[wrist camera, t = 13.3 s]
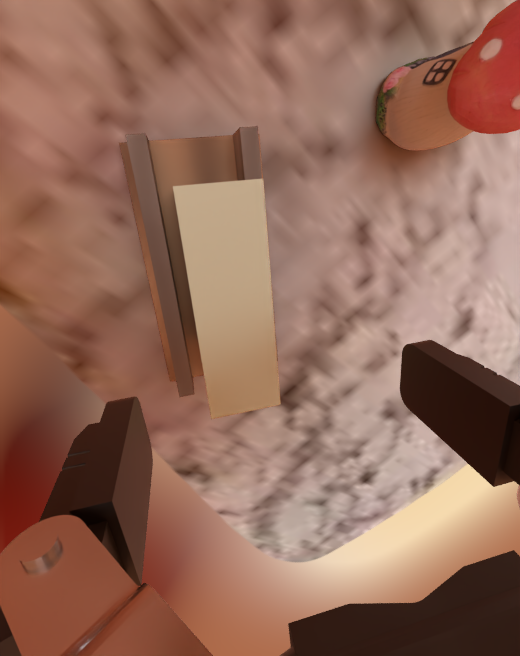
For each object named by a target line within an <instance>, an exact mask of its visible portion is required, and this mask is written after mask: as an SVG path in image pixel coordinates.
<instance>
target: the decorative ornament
mask: <svg viewBox="0 0 520 656" xmlns="http://www.w3.org/2000/svg"><path fill="white" fill-rule="evenodd" d="M376 123H377V125H378V127H379V129H380V130H381V132H382V134H383V135H385V136H386V137H387V138H389V139H390V140H391V141H392V142H393V143H395V144H396V145H397V146H399V147H401V148H403V149H406V150H428V149H433V148H437V147H441V146H444V145H447V144H450V143H452V142H455V141H457V140H459V139H461V138H463V137H464V136H466V135H468V134H469V133H471V132H473V131H475V132H479V133H487V134H497V133H508V132H512V131H516V130H519V129H520V0H516V1H515V2H513V3H512V4H510V5H509V6H508V7H506V8H505V9H504V10H502V11H501V12H500V13H498V14H497V15H496V16H495V17H494V18H493V19H492V20H491V21H490V22H489V23H488V24H487V26H486V27H485V29H484V30H483V32H482V34H481V35H480V36H479V37H478V38H477V39H476V40H475V42H472V43H469V44H466V45H464V46H462V47H459V48H456V49H453V50H451V51H448V52H445V53H443V54H441V55H439V56H437V57H429V58H423V59H418V60H416V61H414V62H411V63H409V64H406V65H404V66H402V67H399V68H397V69H396V70H394V71H393V72H391V73H390V74H389V75H388V77H387V78H386V79H385V81H384V83H383V85H382V87H381V90H380V93H379V95H378V97H377V112H376Z"/></svg>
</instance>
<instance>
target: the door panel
mask: <svg viewBox="0 0 520 656" xmlns="http://www.w3.org/2000/svg"><path fill="white" fill-rule="evenodd" d="M173 191H174V197H175V203H176V209H177V215H178V222H179V228H180V234H181V240H182V246H183V252H184V258H185V264H186V270H187V276H188V282H189V288H190V294H191V300H192V306H193V312H194V318H195V324H196V330H197V336H198V342H199V348H200V354H201V360H202V366H203V372H204V378H205V384H206V390H207V396H208V402H209V408H210V414H211V419H214V418H219V417H224V416H229V415H233V414H238V413H243V412H248V411H252V410H257V409H262V408H267V407H272V406H276V405H281V404H280V391H279V378H278V365H277V352H276V339H275V326H274V313H273V300H272V287H271V274H270V261H269V248H268V234H267V221H266V208H265V195H264V182H263V179H252V180H240V181H229V182H217V183H205V184H194V185H182V186H173Z"/></svg>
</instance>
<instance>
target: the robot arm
mask: <svg viewBox="0 0 520 656" xmlns="http://www.w3.org/2000/svg"><path fill="white" fill-rule="evenodd" d="M400 393H401V397H402V400H403V402H404V404H405V405H406V407H407V408H408V409H409V410H410V411H411V412H412V413H414V414H415V415H416V416H417V417H418V418H419V419H420V420H421V421H422V422H423V423H424V424H426V425H427V426H428V427H429V428H430V429H431V430H432V431H433V432H434V433H435V434H436V435H438V436H439V437H440V438H441V439H442V440H443V441H444V442H445V443H446V444H447V445H448V446H450V447H451V448H452V449H453V450H454V451H455V452H456V453H457V454H458V455H459V456H461V457H462V458H463V459H464V460H465V461H466V462H467V463H468V464H469V465H470V466H471V467H473V468H474V469H475V470H476V471H477V472H478V473H479V474H480V475H481V476H482V477H483V478H485V479H486V480H487V481H488V482H489V483H490V484H491V485H492V486H493V487H495V486H498V485H502V484H506V483H509V482H512V481H515V482H516V483H517V484H519V487H518V491H517V499H518V503H519V507H520V386H519V385H517V384H516V383H514V382H512V381H510V380H508V379H507V378H505V377H503V376H501V375H497V373H496V372H494V371H492V370H490V369H488V368H484V366H483V365H481V364H479V363H477V362H476V361H474V360H472V359H470V358H468V357H465V356H462V355H458V354H456V353H454V352H452V351H451V350H449V349H447V348H445V347H443V346H442V345H440V344H438V343H436V342H435V341H432V340H427V341H422V342H416V343H411V344H407V345H405V347H404V348H403V351H402V364H401V380H400ZM152 462H153V459H152V449H151V443H150V439H149V436H148V432H147V428H146V424H145V421H144V417H143V413H142V409H141V406H140V402H139V400H138V398H137V397H131V398H125V399H120V400H115V401H110V402H107V404H106V406H105V409H104V412H103V415H102V418H101V421H100V423H95V424H90V425H88V426H87V427H86V428H85V429H84V430H83V431H82V432H81V433H80V434H79V435H78V436H77V437H76V438H75V439H74V441H73V444H72V446H71V448H70V451H69V453H68V458H66V460H65V462H64V465H63V467H62V471H61V472H60V474H59V476H58V479H57V481H56V483H55V486H54V488H53V490H52V493H51V495H50V497H49V500H48V502H47V504H46V507H45V509H44V511H43V514H42V516H41V518H40V521H39V522H38V523H36V524H34V525H33V526H31V527H29V528H28V529H26V530H25V531H24V532H22V533H21V534H20V535H19V536H17V537H16V538H15V539H14V540H13V541H12V542H11V543H10V544H9V545H8V546H7V547H6V548H5V549H4V551H3V552H2V553H1V555H0V656H213V655H212V654H211V653H210V652H209V651H208V650H207V648H205V646H204V645H203V644H202V643H201V642H200V640H199V639H198V638H197V637H196V636H195V635H194V634H193V633H192V632H191V630H190V629H189V628H188V627H187V626H186V625H185V623H184V622H183V621H182V620H181V619H180V618H179V617H178V616H177V614H176V613H175V612H174V611H173V610H172V609H171V608H170V607H169V605H168V604H167V603H166V602H165V601H164V600H163V598H162V597H161V596H160V595H159V594H158V593H157V592H156V591H155V590H154V589H153V588H152V587H151V586H150V585H148V584H146V583H144V584H143V585H141V582H142V571H143V561H144V549H145V540H146V529H147V518H148V508H149V496H150V487H151V475H152V464H153V463H152ZM139 586H140V587H139ZM288 625H289V634H290V643H291V648H290V649H288V650H287V651H286V652H284V653H283V654H282V655H280V656H520V556H519V555H518V554H517V553H516V552H515V551H514V550H513V551H510V552H507V553H504V554H501V555H498V556H495V557H492V558H489V559H486V560H482V561H479V562H476V563H473V564H470V565H467V566H464V567H462V568H461V569H460V570H459V571H458V572H456V573H455V574H454V575H453V576H452V577H450V578H449V579H448V580H446V581H445V582H444V583H443V584H441V585H440V586H439V587H438V588H437V589H435V590H434V591H433V592H432V593H430V595H428V596H427V597H425V598H424V599H423V600H421V601H419V602H416V603H381V604H380V603H379V604H378V603H377V604H347V605H344V606H341V607H338V608H335V609H332V610H329V611H326V612H322V613H319V614H316V615H313V616H310V617H307V618H304V619H301V620H298V621H295V622H292V623H289V624H288Z"/></svg>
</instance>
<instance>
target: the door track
mask: <svg viewBox="0 0 520 656" xmlns="http://www.w3.org/2000/svg"><path fill="white" fill-rule="evenodd" d="M126 140H127V142H126V143H119V145H120V149H121V154H122V159H123V163H124V168H125V173H126V177H127V182H128V187H129V191H130V196H131V201H132V205H133V210H134V215H135V219H136V224H137V229H138V233H139V238H140V243H141V248H142V252H143V257H144V262H145V266H146V271H147V276H148V280H149V285H150V290H151V294H152V299H153V304H154V308H155V313H156V318H157V322H158V327H159V332H160V336H161V341H162V346H163V350H164V355H165V360H166V364H167V369H168V374H169V378H170V381H175V380H176V382H177V387H178V392H179V396H180V397H183V396H188V395H193V394H194V386H193V377H196V376H201V375H204V372H203V366H202V360H201V354H200V348H199V342H198V336H197V330H196V324H195V318H194V312H193V306H192V300H191V294H190V288H189V282H188V276H187V270H186V264H185V258H184V252H183V246H182V240H181V234H180V228H179V222H178V215H177V209H176V203H175V197H174V191H173V186H182V185H194V184H205V183H217V182H229V181H240V180H252V179H263V174H262V162H261V150H260V137H259V134H258V126H255V127H240V128H239V129H238V130H237V131H236V132H235V133H234V134H233V135H229V136H215V137H200V138H185V139H170V140H155V141H149V140H148V138H147V136H146V134H129V135H126ZM270 274H271V273H270ZM271 287H272V285H271ZM272 300H273V298H272ZM273 313H274V310H273ZM274 326H275V322H274ZM275 339H276V335H275ZM276 352H277V347H276ZM277 361H278V359H277Z"/></svg>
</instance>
